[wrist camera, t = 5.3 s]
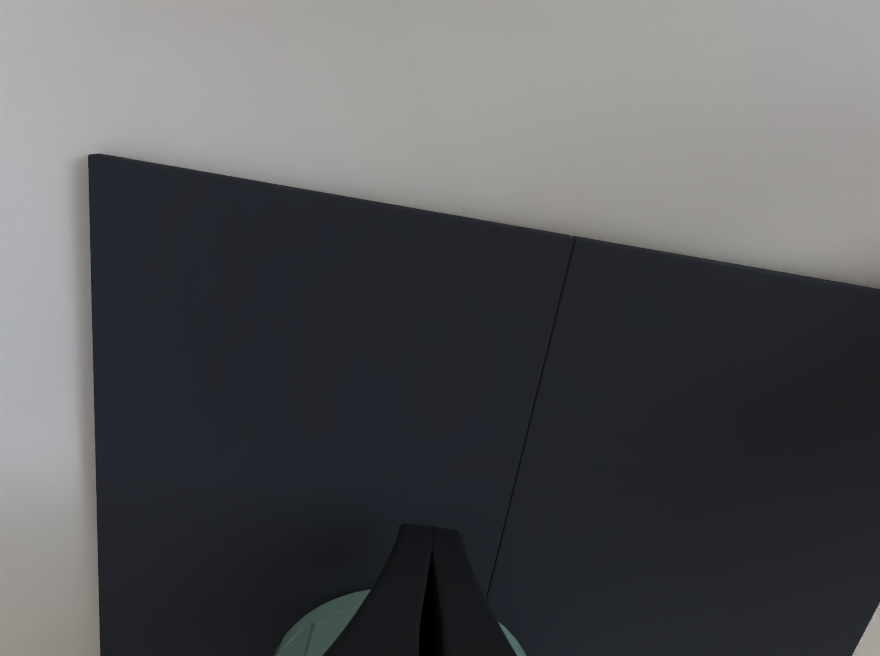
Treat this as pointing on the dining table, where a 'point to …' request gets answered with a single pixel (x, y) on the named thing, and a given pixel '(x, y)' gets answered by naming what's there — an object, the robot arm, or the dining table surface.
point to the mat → (468, 425)
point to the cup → (335, 628)
